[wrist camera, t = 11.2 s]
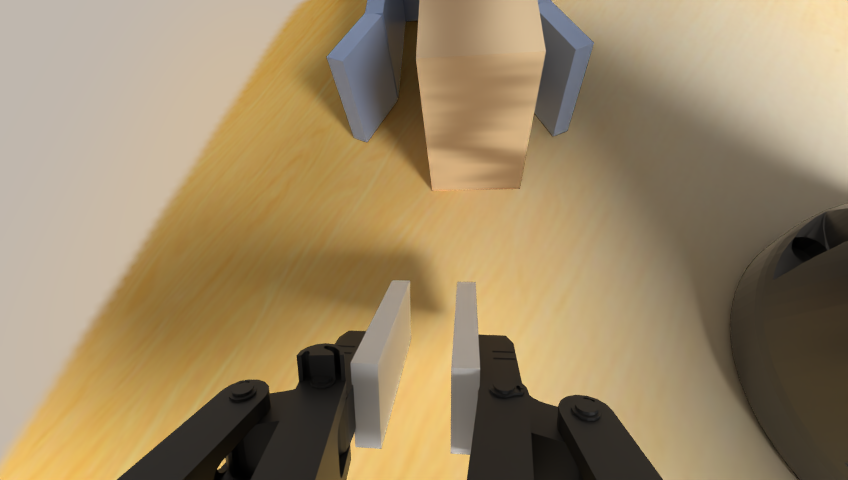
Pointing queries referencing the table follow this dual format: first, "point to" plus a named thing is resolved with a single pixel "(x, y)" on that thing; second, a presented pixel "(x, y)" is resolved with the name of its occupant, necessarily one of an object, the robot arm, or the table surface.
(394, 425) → the table surface
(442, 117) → the block
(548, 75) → the blue u-shaped bracket
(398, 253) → the table surface
